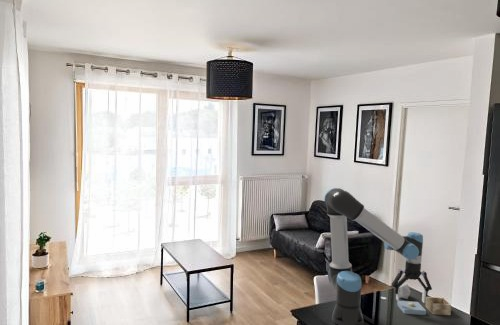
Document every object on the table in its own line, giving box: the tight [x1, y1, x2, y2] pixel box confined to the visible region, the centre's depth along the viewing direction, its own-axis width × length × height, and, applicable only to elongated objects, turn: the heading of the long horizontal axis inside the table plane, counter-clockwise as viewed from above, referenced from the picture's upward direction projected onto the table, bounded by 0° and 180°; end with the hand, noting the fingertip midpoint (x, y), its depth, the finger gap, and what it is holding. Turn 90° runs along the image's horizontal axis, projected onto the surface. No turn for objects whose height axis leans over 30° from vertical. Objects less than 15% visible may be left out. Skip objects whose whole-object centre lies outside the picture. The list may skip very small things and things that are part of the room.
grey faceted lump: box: [399, 283, 412, 300], centre depth 211 cm, size 8×9×10 cm
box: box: [425, 296, 452, 316], centre depth 194 cm, size 9×9×6 cm
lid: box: [396, 300, 427, 316], centre depth 194 cm, size 11×11×4 cm
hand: (410, 301), depth 194 cm, fingers open, 13 cm apart
